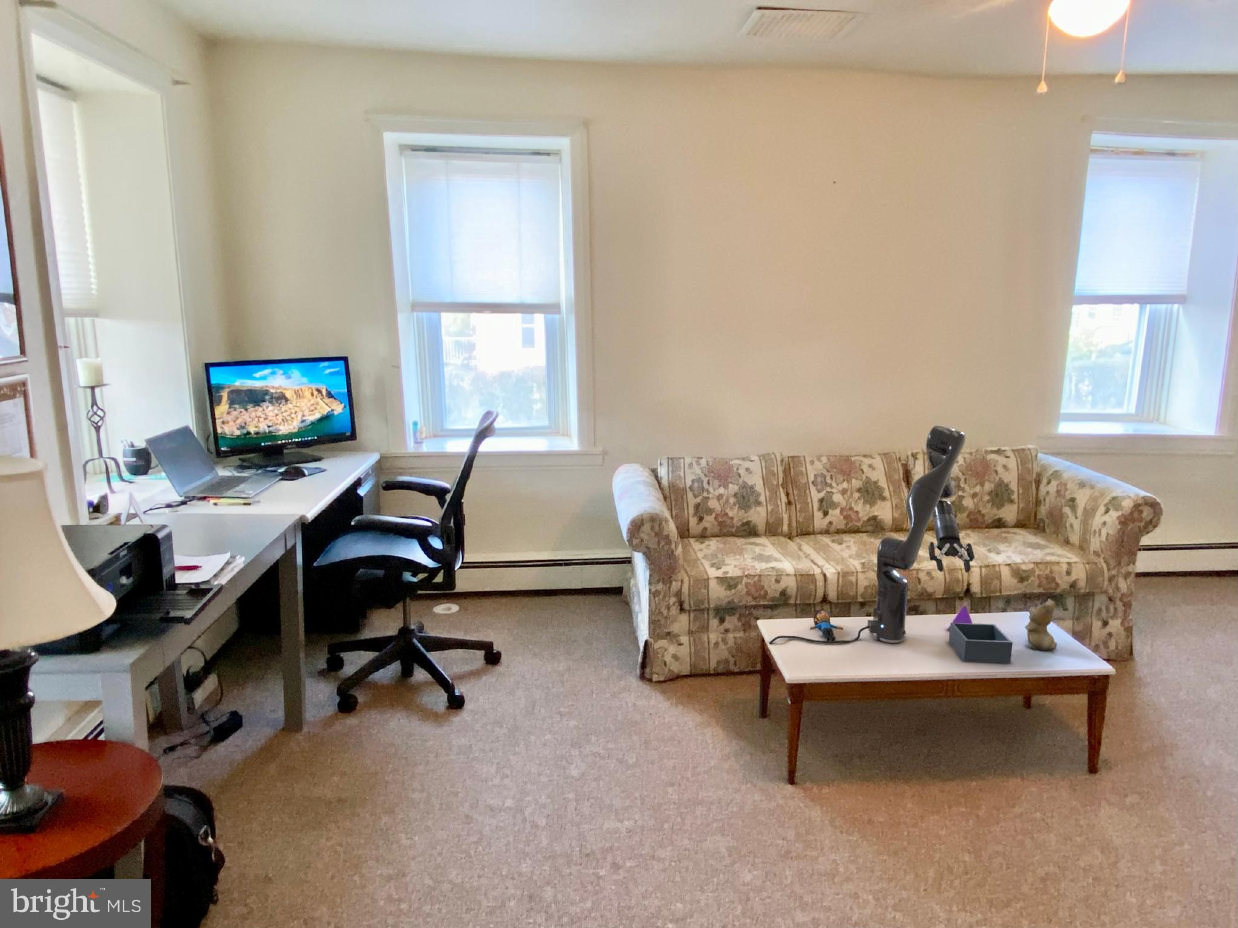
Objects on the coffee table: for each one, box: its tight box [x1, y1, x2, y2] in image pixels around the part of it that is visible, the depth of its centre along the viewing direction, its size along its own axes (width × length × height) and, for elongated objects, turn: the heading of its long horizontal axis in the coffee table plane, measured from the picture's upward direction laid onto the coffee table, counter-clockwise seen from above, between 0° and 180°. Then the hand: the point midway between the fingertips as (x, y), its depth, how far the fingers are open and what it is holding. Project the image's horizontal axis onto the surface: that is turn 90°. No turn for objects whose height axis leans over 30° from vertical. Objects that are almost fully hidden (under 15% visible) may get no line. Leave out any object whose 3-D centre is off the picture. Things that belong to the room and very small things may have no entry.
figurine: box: [1024, 598, 1058, 651], centre depth 238 cm, size 10×8×15 cm
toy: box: [809, 609, 844, 641], centre depth 248 cm, size 11×6×15 cm
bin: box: [948, 622, 1013, 664], centre depth 233 cm, size 14×14×7 cm
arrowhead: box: [946, 604, 973, 631], centre depth 247 cm, size 10×2×10 cm
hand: (954, 571), depth 256 cm, fingers open, 8 cm apart
